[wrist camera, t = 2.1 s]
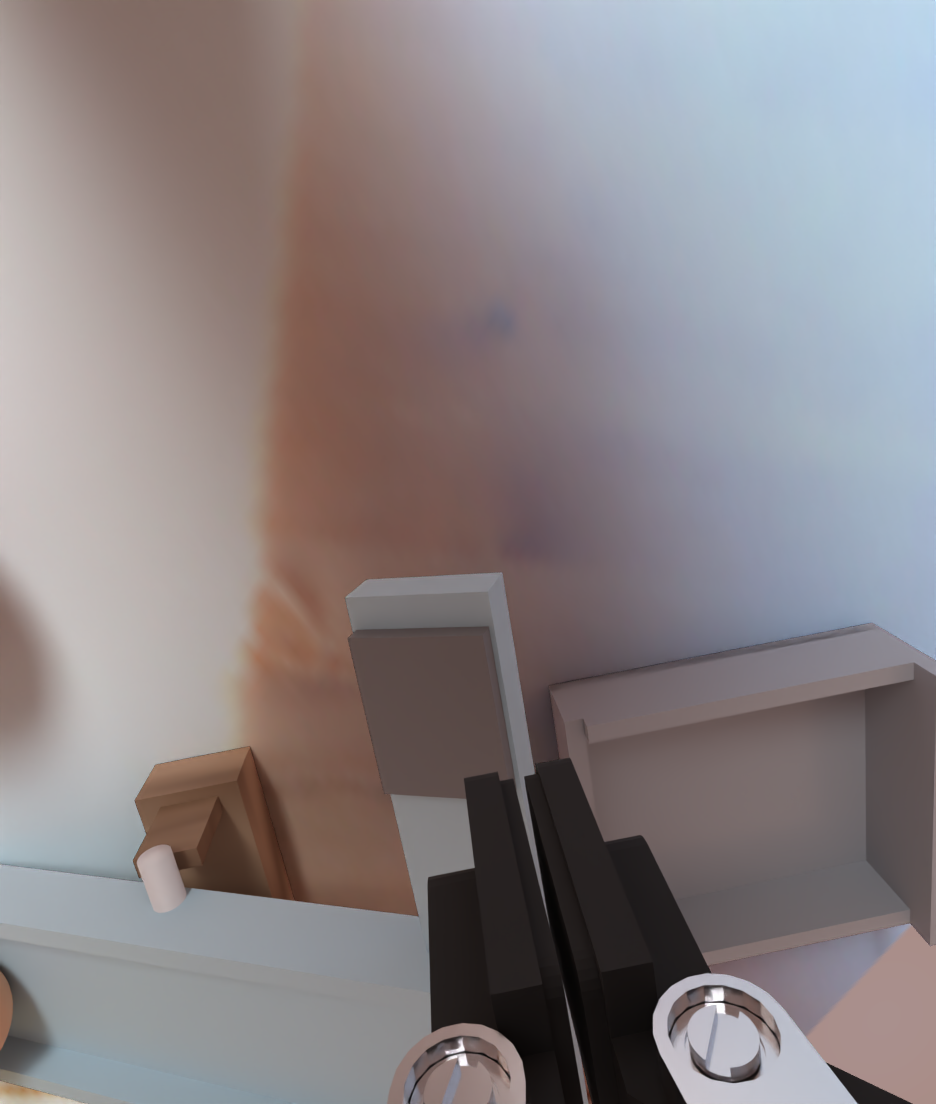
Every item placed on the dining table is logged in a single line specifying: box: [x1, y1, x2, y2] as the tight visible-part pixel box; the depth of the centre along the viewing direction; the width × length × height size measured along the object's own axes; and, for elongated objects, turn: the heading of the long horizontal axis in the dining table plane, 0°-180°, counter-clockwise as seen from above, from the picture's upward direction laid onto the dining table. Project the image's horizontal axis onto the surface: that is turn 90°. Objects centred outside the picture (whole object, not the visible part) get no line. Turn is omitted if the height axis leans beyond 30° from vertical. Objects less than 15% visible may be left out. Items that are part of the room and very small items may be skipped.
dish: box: [549, 623, 936, 966], centre depth 25 cm, size 10×12×4 cm
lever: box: [0, 572, 588, 1104], centre depth 19 cm, size 18×22×4 cm
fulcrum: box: [133, 746, 295, 901], centre depth 24 cm, size 10×3×4 cm, turn 10°
